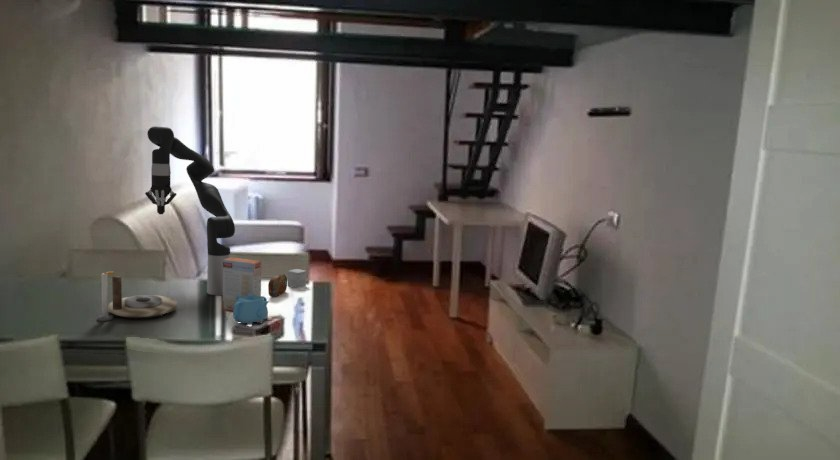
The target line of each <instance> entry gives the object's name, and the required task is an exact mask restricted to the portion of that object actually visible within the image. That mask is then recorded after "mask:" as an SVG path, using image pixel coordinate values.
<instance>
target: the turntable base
mask: <svg viewBox="0 0 840 460" xmlns="http://www.w3.org/2000/svg"><path fill="white" fill-rule="evenodd" d="M161 315H162V316H165V315H167V314H166V313H165V315H164V314H161ZM161 315H156V316H148V317H125V316H119V317H121V318H122V319H123V318H124V319H131V320H146V319H148V320H149V319H153V318H159V317H162V316H161Z"/></svg>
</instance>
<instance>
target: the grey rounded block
mask: <svg viewBox="0 0 840 460" xmlns="http://www.w3.org/2000/svg"><path fill="white" fill-rule="evenodd" d="M306 286H307V270H303V269H300V268H295V269H289V270H288V271H287V287H291V288H294V289H299V287H300V288H304V287H306Z"/></svg>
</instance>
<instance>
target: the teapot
mask: <svg viewBox="0 0 840 460" xmlns="http://www.w3.org/2000/svg"><path fill="white" fill-rule="evenodd" d="M268 303H270V301H269V300H268V299H267V297H266V296H263V295H262V296H261V297H259V296H254V294H248V295H247V296H244V297H242V296H240V295H237V296H236V303H235V305H234V310H233V312H232V317H233V320H235V321H236V322H241V323H240V324H245V323H251V322H256V321H260V320H263V319H265V320H266V319H267V317H268V316H269V310H268V307H267V305H268ZM263 321H264V320H263Z"/></svg>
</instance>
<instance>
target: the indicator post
mask: <svg viewBox="0 0 840 460" xmlns="http://www.w3.org/2000/svg"><path fill="white" fill-rule="evenodd" d="M108 275H109V276H110V275H115V271H113V270H112V271H106V272H103V273H101V274H100V276H101V277H100V280H101V281H100V283H101V285H100V286H101V314H100V315H98V316H97V319H96V320H97V321H99V322H110V321H112V320H114V318H113V317H114V316H113V314H112V315H111V314H109V310H108V305H109V296H108V295H109V294H108V293H109V292H108V289H109V288H108V287H109V286H108V285H109V284H108V280H109V279H108Z"/></svg>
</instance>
